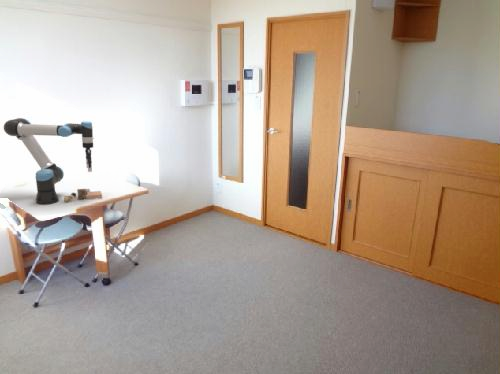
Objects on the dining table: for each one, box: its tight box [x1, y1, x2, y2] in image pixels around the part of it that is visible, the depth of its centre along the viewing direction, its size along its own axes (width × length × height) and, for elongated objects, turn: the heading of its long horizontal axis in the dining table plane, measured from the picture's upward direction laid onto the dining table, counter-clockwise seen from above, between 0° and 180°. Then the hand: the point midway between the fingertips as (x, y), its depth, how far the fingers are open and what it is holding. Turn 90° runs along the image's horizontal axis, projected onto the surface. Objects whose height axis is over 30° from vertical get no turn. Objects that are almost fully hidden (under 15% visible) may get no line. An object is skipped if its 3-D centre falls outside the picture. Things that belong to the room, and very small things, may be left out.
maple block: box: [63, 194, 75, 204], centre depth 291 cm, size 6×4×4 cm, turn 134°
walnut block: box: [76, 188, 88, 201], centre depth 298 cm, size 6×6×7 cm
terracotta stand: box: [87, 190, 103, 200], centre depth 304 cm, size 10×10×3 cm
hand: (89, 169), depth 299 cm, fingers open, 13 cm apart
